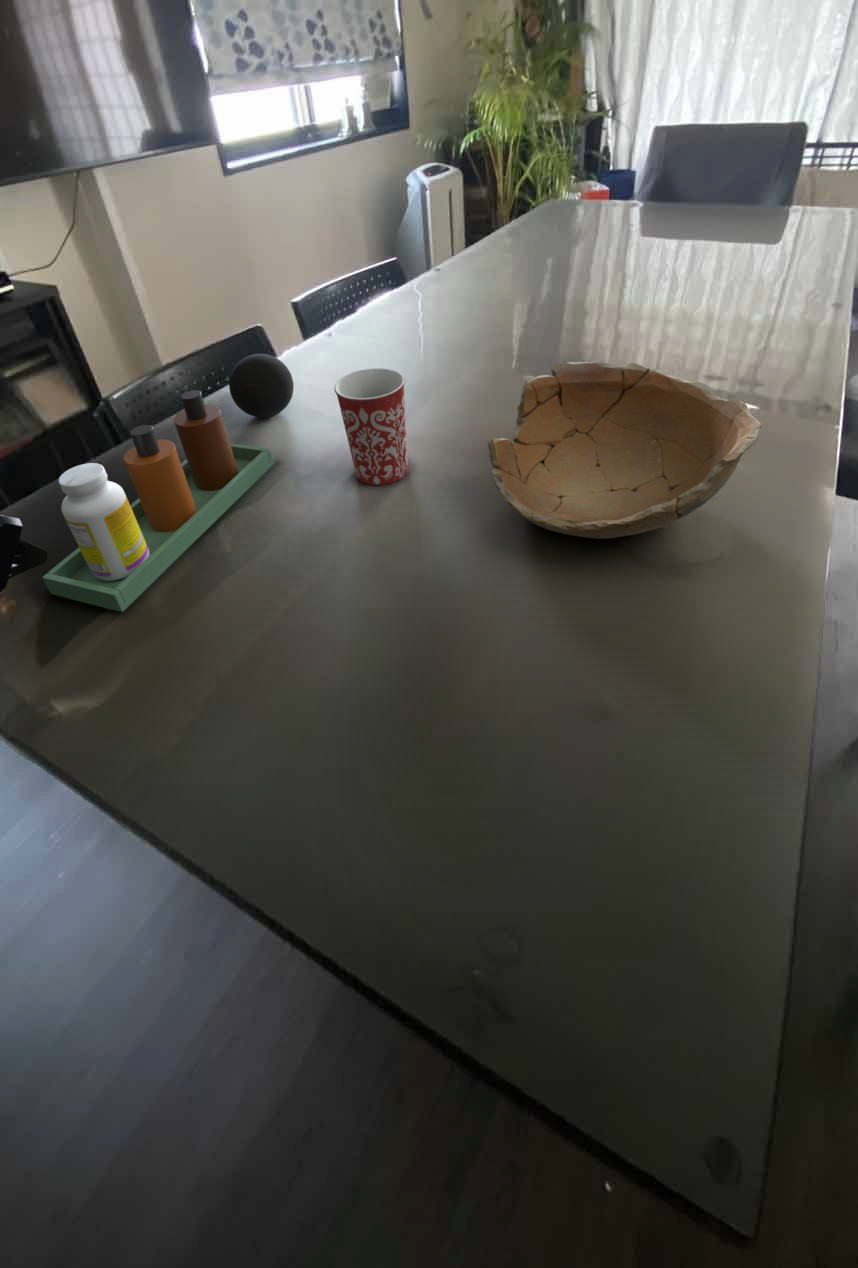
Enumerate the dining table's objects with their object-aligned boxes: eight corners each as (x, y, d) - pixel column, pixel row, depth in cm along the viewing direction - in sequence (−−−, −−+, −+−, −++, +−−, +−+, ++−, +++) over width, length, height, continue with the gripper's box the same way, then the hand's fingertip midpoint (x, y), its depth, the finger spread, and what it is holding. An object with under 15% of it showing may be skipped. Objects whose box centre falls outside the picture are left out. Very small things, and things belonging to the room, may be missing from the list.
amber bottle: (177, 535, 85) (144, 445, 77) (139, 528, 87) (103, 439, 79) (206, 508, 89) (177, 420, 82) (170, 501, 91) (138, 415, 84)
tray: (122, 612, 75) (114, 595, 73) (50, 594, 78) (41, 577, 77) (274, 464, 98) (270, 448, 97) (213, 455, 102) (209, 440, 100)
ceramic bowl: (440, 506, 83) (448, 388, 76) (548, 443, 103) (562, 345, 95) (682, 604, 68) (721, 467, 61) (755, 509, 87) (791, 397, 80)
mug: (409, 490, 90) (398, 397, 82) (342, 489, 91) (326, 398, 84) (423, 442, 100) (414, 355, 92) (363, 442, 102) (349, 356, 94)
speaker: (250, 435, 106) (234, 375, 100) (229, 412, 113) (213, 355, 108) (308, 415, 110) (296, 357, 104) (284, 394, 117) (272, 338, 112)
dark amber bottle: (222, 493, 92) (195, 407, 84) (186, 487, 94) (157, 402, 86) (247, 470, 96) (223, 386, 89) (212, 465, 98) (186, 382, 91)
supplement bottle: (151, 541, 84) (115, 452, 77) (150, 574, 79) (112, 482, 72) (95, 555, 83) (52, 465, 75) (89, 589, 78) (44, 497, 70)
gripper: (-57, 432, 49) (107, 480, 63) (-218, 407, 55) (-35, 456, 69) (-102, 587, 47) (76, 599, 62) (-262, 543, 53) (-66, 563, 68)
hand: (10, 548), depth 65 cm, fingers open, 9 cm apart
